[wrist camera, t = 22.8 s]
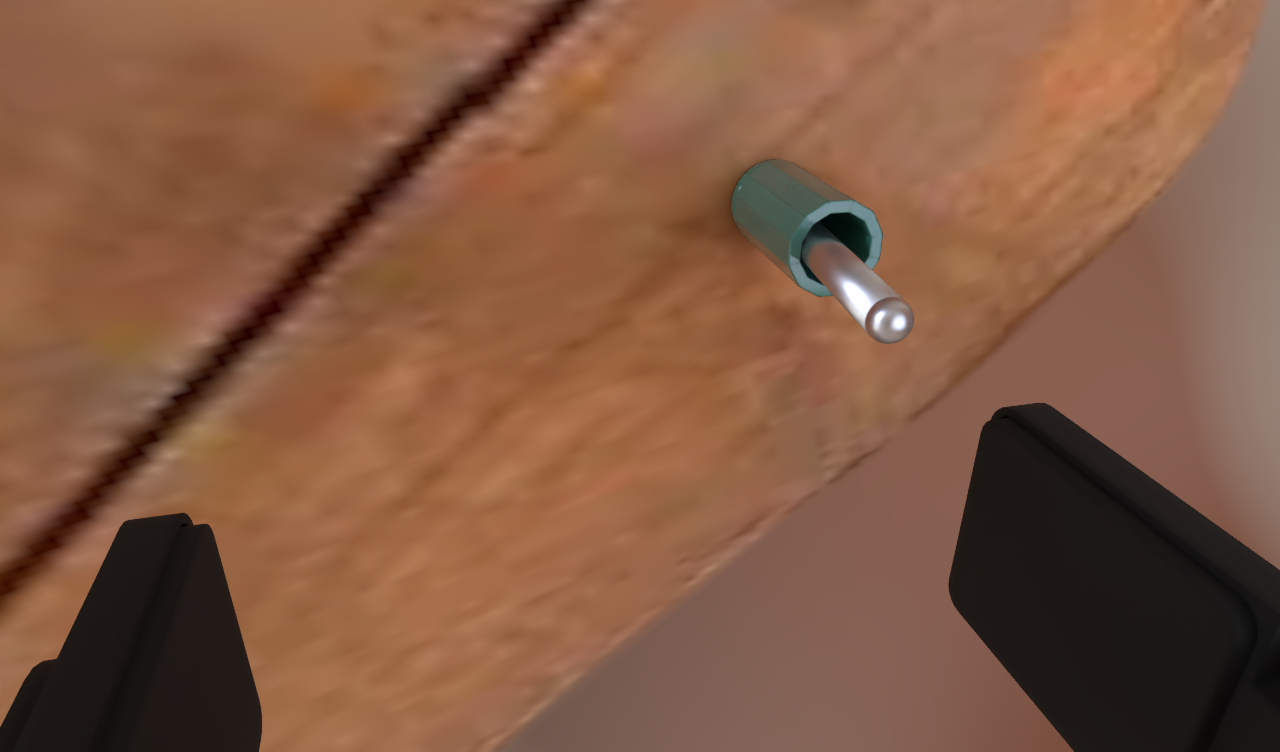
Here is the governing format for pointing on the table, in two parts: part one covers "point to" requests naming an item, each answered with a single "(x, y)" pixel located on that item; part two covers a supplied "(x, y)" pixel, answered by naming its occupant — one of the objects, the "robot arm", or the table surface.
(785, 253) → the pen holder
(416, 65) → the table surface
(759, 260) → the table surface
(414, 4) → the table surface
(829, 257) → the silver metal rod
